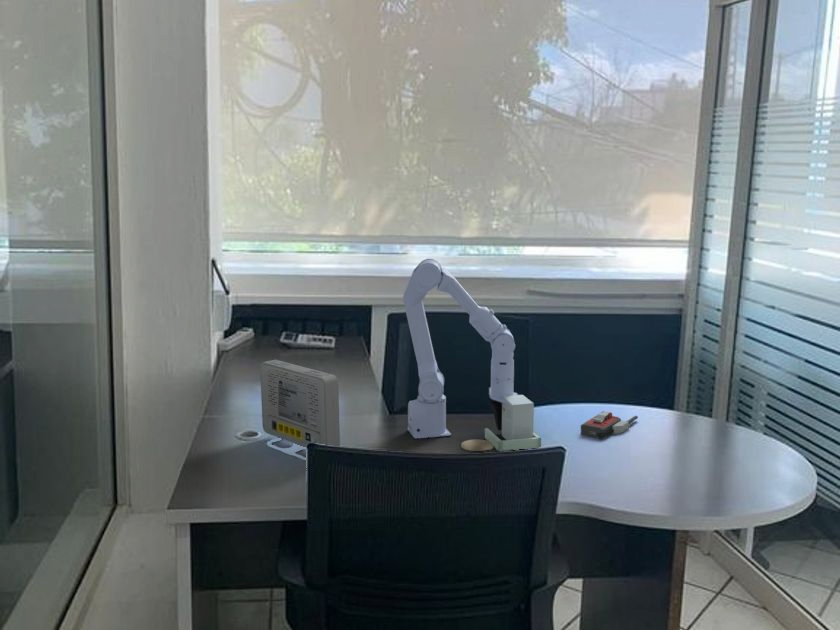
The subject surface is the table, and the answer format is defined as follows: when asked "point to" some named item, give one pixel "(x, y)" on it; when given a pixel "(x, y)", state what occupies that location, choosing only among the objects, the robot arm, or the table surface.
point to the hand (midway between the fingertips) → (501, 429)
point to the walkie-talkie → (605, 425)
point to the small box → (517, 417)
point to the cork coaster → (477, 445)
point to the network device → (299, 404)
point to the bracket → (512, 442)
